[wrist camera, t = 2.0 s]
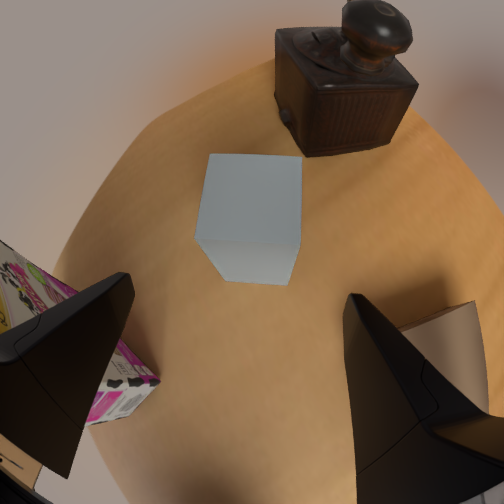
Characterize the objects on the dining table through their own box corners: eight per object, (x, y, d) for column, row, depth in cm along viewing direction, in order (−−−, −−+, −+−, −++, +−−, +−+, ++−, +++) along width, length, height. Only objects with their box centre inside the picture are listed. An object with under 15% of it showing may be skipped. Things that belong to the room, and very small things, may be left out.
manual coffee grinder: (267, 94, 29) (260, -47, 12) (351, 85, 29) (376, -38, 12) (315, 207, 24) (367, 15, 7) (413, 185, 25) (505, 51, 7)
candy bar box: (165, 378, 20) (11, 375, 5) (130, 417, 19) (-26, 447, 4) (87, 291, 23) (-41, 201, 8) (58, 327, 22) (-77, 266, 7)
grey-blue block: (287, 285, 22) (300, 245, 13) (225, 280, 23) (194, 238, 13) (290, 227, 24) (302, 157, 14) (232, 223, 24) (209, 153, 15)
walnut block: (365, 460, 17) (380, 478, 13) (344, 345, 21) (359, 347, 17) (464, 412, 17) (488, 418, 14) (449, 307, 21) (474, 300, 17)
